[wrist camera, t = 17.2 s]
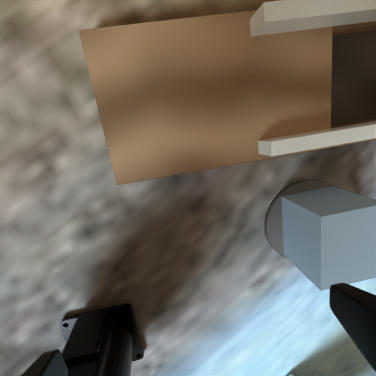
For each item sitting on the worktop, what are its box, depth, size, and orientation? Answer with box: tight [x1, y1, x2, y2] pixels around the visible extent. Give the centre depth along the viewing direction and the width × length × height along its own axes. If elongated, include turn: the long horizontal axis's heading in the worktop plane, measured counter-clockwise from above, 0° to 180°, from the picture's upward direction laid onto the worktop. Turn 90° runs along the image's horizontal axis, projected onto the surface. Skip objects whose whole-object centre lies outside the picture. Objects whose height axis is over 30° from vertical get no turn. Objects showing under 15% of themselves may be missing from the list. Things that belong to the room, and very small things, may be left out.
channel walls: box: [250, 0, 376, 157], centre depth 15 cm, size 9×14×2 cm, turn 99°
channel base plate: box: [79, 10, 376, 185], centre depth 17 cm, size 10×25×2 cm, turn 99°
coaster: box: [265, 180, 332, 258], centre depth 21 cm, size 8×8×1 cm
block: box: [281, 186, 376, 290], centre depth 18 cm, size 5×6×5 cm
